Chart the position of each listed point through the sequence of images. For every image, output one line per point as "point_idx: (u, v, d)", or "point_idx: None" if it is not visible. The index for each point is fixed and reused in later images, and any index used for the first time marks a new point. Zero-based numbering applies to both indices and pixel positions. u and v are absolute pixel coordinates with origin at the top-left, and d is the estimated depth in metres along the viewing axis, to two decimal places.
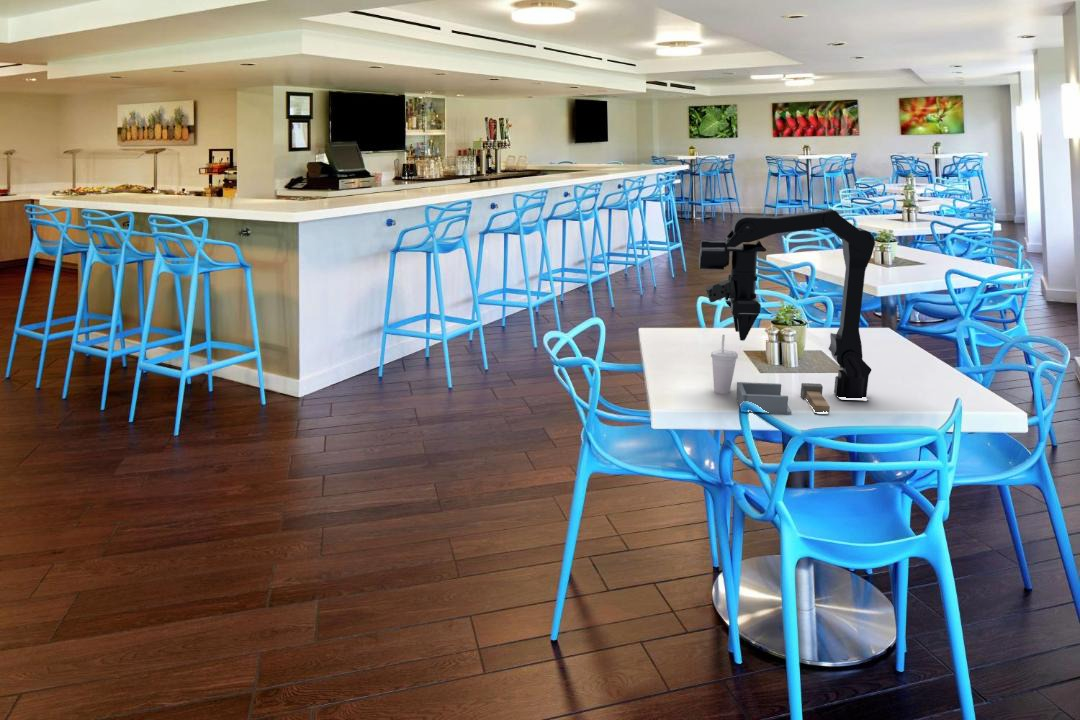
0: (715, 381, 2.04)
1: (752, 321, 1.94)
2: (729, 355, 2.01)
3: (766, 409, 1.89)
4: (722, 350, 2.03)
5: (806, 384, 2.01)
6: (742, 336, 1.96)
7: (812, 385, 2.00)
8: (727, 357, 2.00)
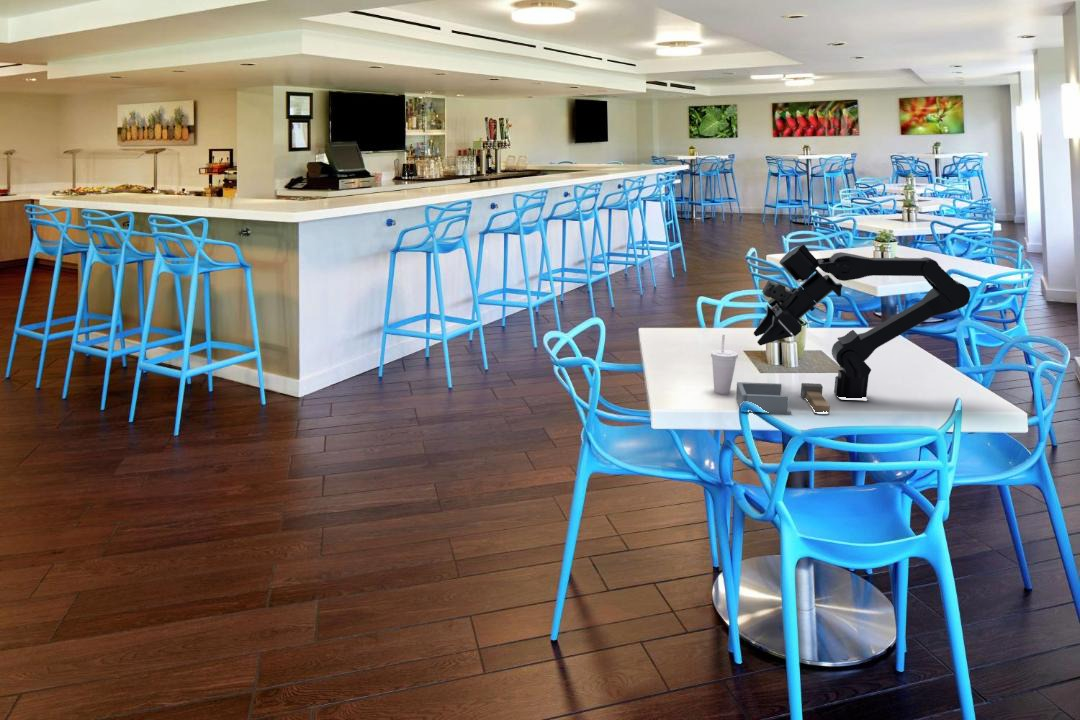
0: (715, 381, 2.04)
1: (781, 337, 1.94)
2: (729, 355, 2.01)
3: (766, 409, 1.89)
4: (722, 350, 2.03)
5: (806, 384, 2.01)
6: (761, 341, 1.96)
7: (812, 385, 2.00)
8: (727, 357, 2.00)
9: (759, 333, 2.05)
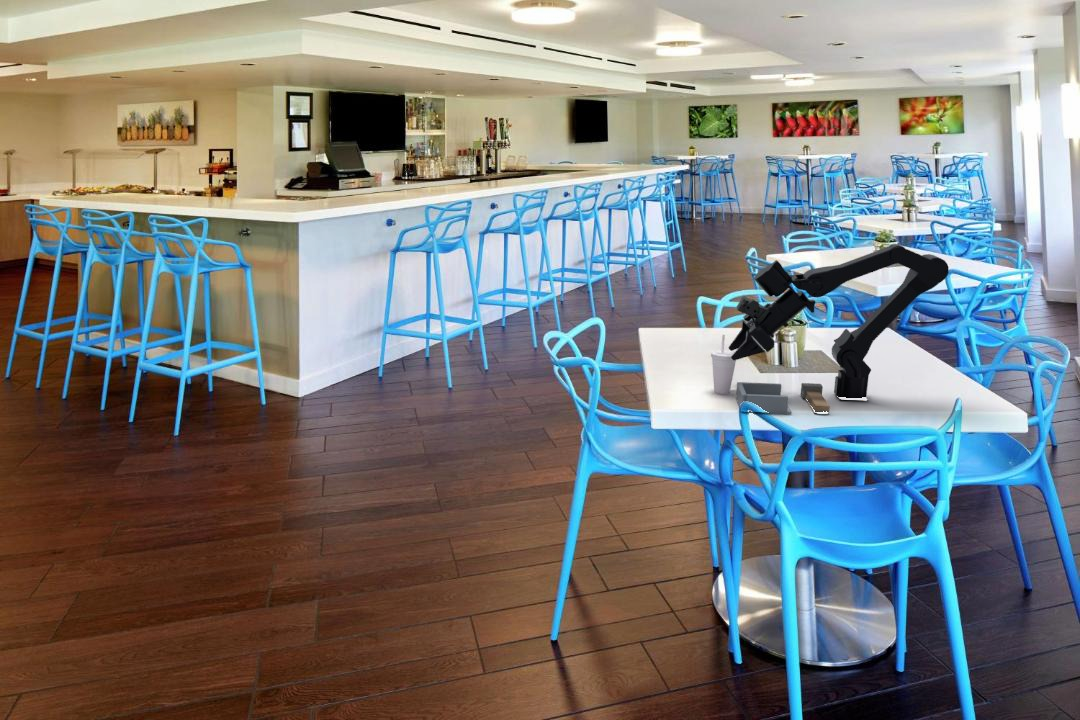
0: (715, 381, 2.04)
1: (754, 352, 1.96)
2: (729, 355, 2.01)
3: (766, 409, 1.89)
4: (722, 350, 2.03)
5: (806, 384, 2.01)
6: (735, 356, 1.98)
7: (812, 385, 2.00)
8: (727, 357, 2.00)
9: (734, 348, 2.07)
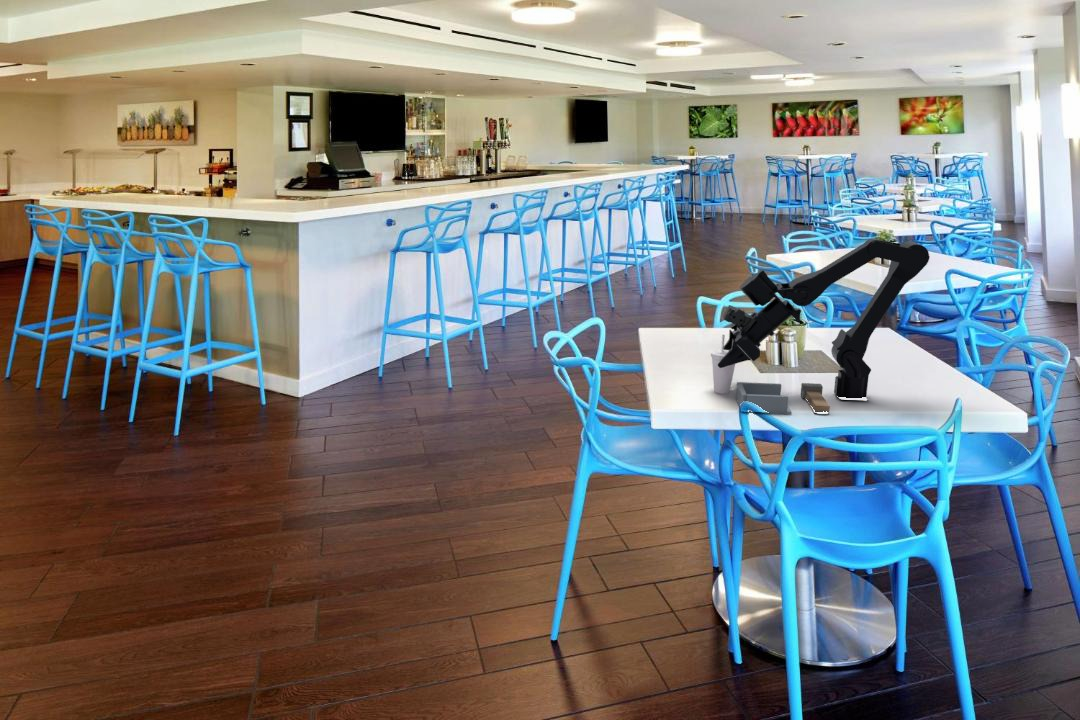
0: (715, 381, 2.04)
1: (740, 360, 1.98)
2: None
3: (766, 409, 1.89)
4: (722, 350, 2.03)
5: (806, 384, 2.01)
6: (721, 364, 2.00)
7: (812, 385, 2.00)
8: None
9: None
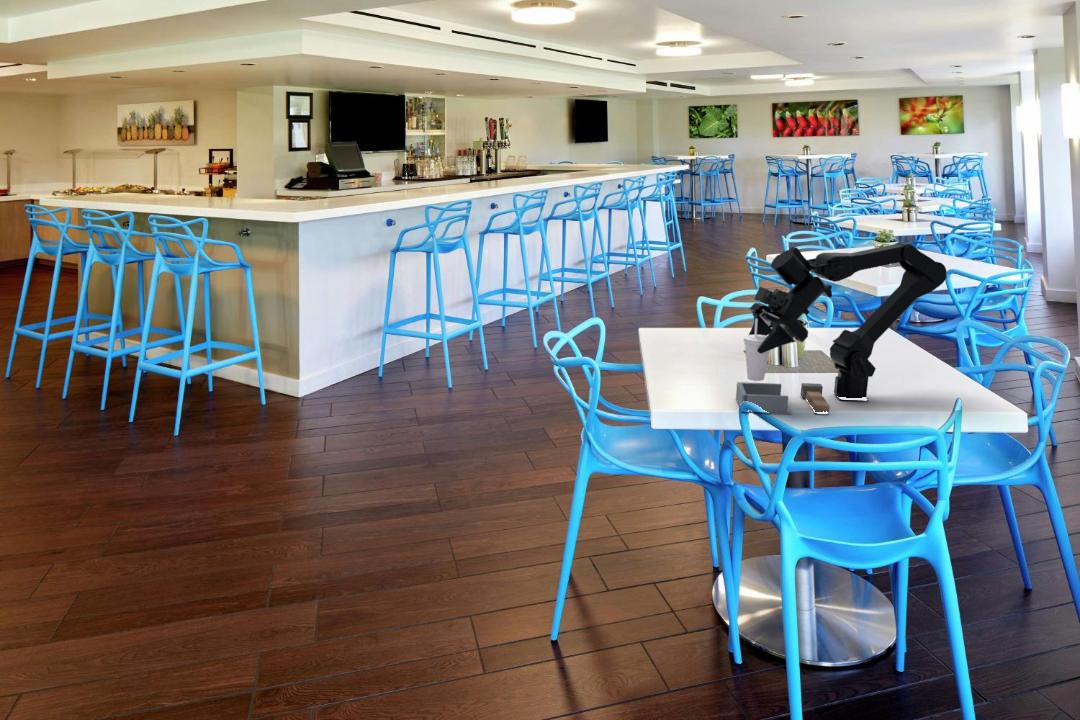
0: (751, 368, 1.93)
1: (782, 343, 1.89)
2: None
3: (766, 409, 1.89)
4: (756, 335, 1.92)
5: (806, 384, 2.01)
6: (762, 349, 1.89)
7: (812, 385, 2.00)
8: None
9: None
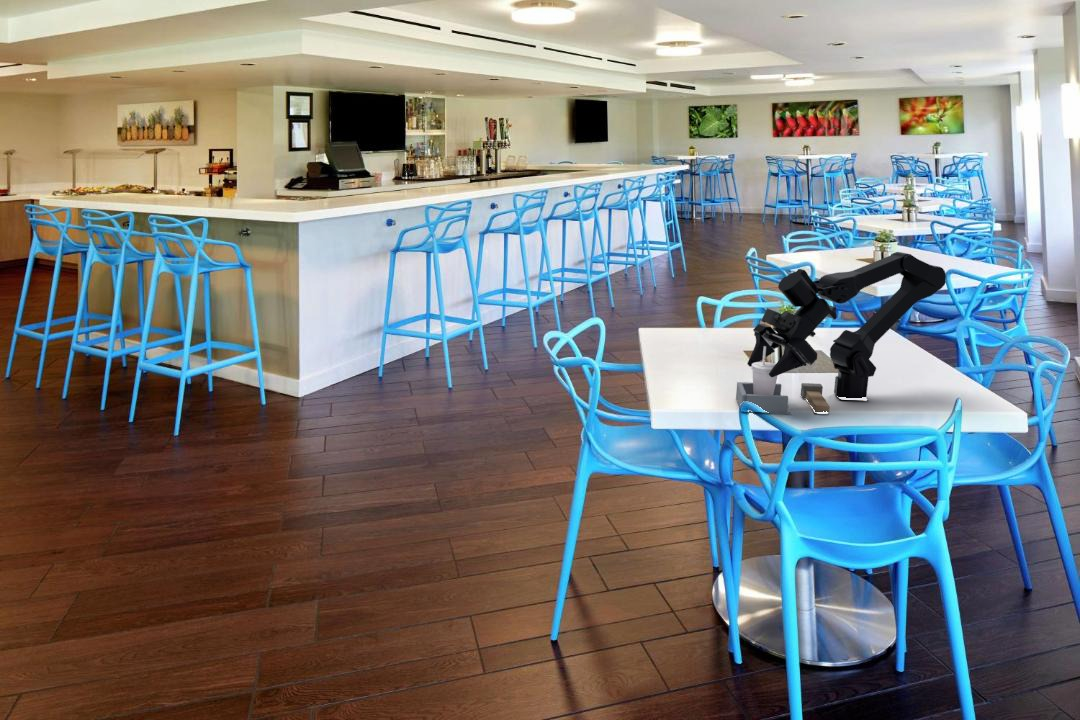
0: None
1: (793, 367, 1.87)
2: None
3: (766, 409, 1.89)
4: (763, 363, 1.92)
5: (806, 384, 2.01)
6: (773, 372, 1.87)
7: (812, 385, 2.00)
8: None
9: None
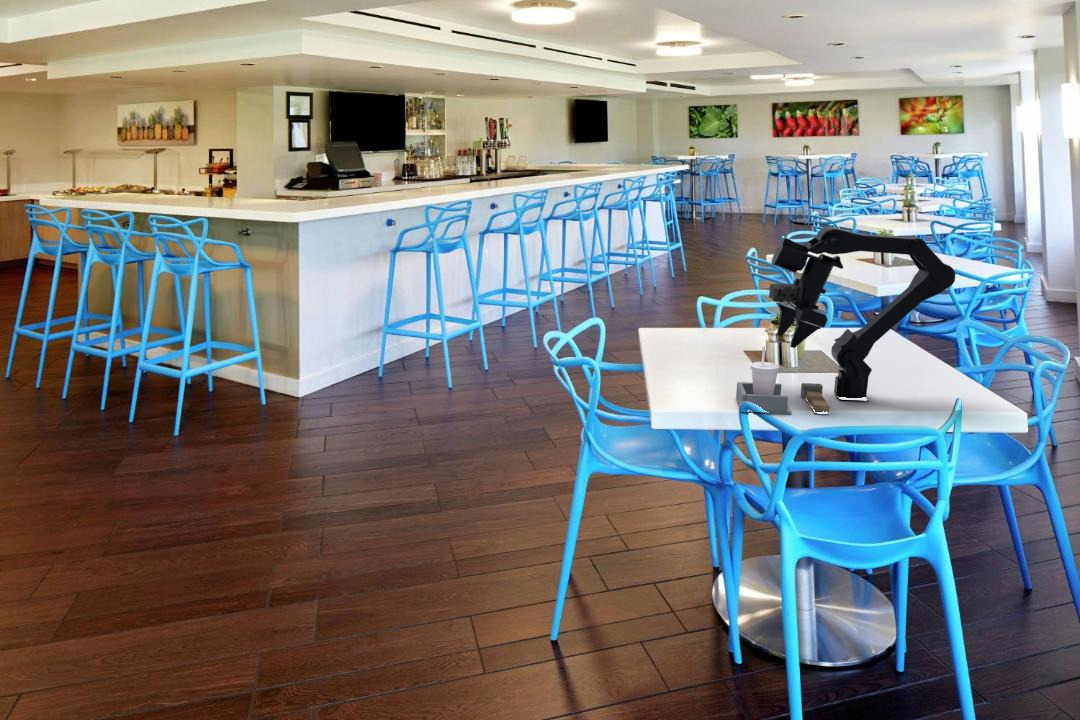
0: None
1: (810, 332, 1.93)
2: (774, 367, 1.91)
3: (766, 409, 1.89)
4: (763, 363, 1.92)
5: (806, 384, 2.01)
6: (793, 344, 1.95)
7: (812, 385, 2.00)
8: (774, 369, 1.90)
9: (783, 332, 2.04)
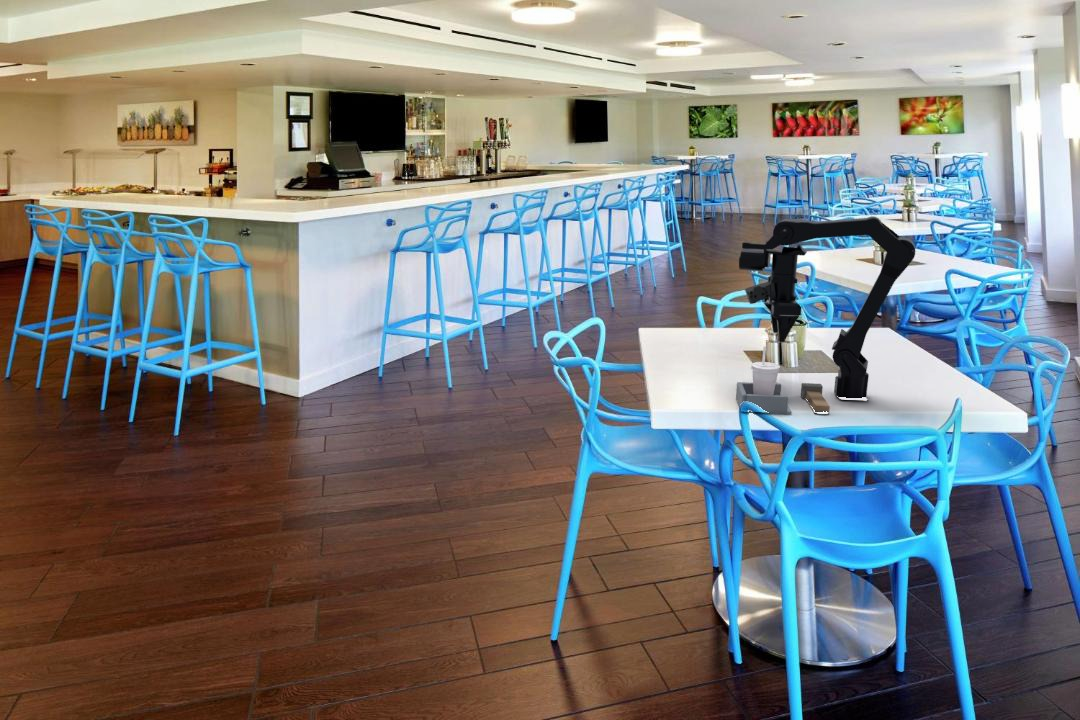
0: None
1: (792, 323, 1.97)
2: (774, 367, 1.91)
3: (766, 409, 1.89)
4: (763, 363, 1.92)
5: (806, 384, 2.01)
6: (781, 338, 2.00)
7: (812, 385, 2.00)
8: (774, 370, 1.90)
9: (777, 328, 2.09)
